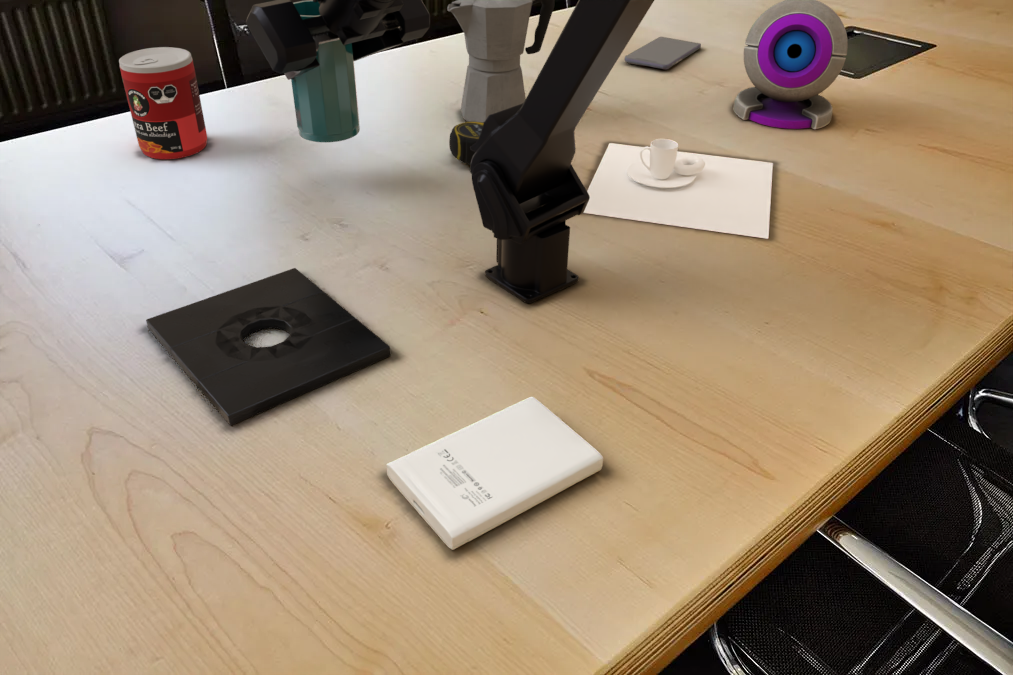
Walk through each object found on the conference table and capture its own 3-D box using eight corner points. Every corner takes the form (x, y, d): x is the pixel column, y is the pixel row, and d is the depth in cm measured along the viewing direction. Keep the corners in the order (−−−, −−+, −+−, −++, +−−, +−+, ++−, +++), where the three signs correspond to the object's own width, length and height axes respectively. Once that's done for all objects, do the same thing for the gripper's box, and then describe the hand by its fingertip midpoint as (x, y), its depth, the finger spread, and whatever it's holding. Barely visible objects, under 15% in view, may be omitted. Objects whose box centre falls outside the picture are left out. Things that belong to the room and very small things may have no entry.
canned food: (126, 152, 103) (103, 60, 96) (176, 131, 108) (157, 42, 102) (173, 165, 100) (152, 71, 93) (222, 142, 106) (205, 52, 99)
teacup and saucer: (704, 168, 102) (710, 135, 99) (698, 196, 95) (704, 162, 93) (631, 159, 104) (635, 126, 101) (620, 186, 97) (624, 152, 95)
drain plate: (391, 356, 70) (390, 346, 70) (230, 426, 63) (228, 415, 62) (296, 276, 80) (295, 267, 79) (148, 329, 73) (145, 319, 72)
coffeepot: (468, 135, 109) (467, -14, 98) (434, 112, 115) (429, -30, 105) (567, 115, 115) (576, -27, 105) (530, 93, 122) (535, -42, 112)
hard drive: (602, 472, 59) (452, 553, 53) (530, 410, 65) (386, 477, 59) (604, 455, 59) (452, 535, 52) (531, 393, 64) (385, 459, 58)
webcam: (728, 122, 114) (748, 5, 106) (738, 92, 124) (758, -17, 115) (829, 136, 111) (859, 16, 102) (832, 104, 121) (859, -8, 112)
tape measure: (514, 167, 101) (515, 137, 99) (458, 173, 99) (457, 143, 97) (496, 145, 106) (497, 116, 104) (443, 151, 105) (442, 121, 102)
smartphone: (703, 43, 141) (667, 65, 130) (702, 49, 141) (667, 71, 130) (660, 35, 144) (622, 56, 133) (659, 41, 144) (621, 63, 134)
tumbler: (372, 131, 94) (362, 8, 87) (322, 147, 90) (307, 20, 83) (336, 115, 98) (323, -4, 90) (286, 130, 94) (268, 7, 86)
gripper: (406, -111, 84) (347, -13, 96) (239, -91, 73) (197, 18, 85) (463, -13, 84) (397, 73, 97) (305, 23, 73) (253, 115, 85)
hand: (315, 67), depth 91 cm, fingers closed on tumbler, 7 cm apart
